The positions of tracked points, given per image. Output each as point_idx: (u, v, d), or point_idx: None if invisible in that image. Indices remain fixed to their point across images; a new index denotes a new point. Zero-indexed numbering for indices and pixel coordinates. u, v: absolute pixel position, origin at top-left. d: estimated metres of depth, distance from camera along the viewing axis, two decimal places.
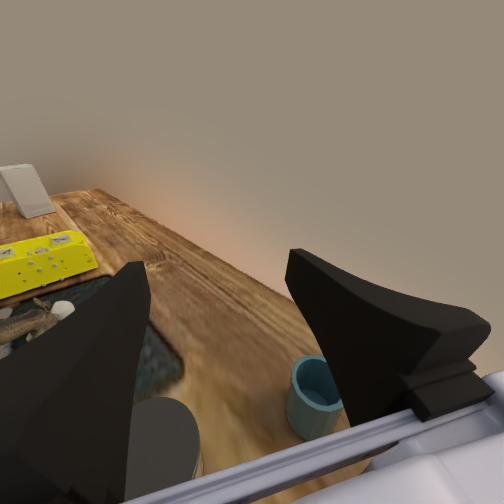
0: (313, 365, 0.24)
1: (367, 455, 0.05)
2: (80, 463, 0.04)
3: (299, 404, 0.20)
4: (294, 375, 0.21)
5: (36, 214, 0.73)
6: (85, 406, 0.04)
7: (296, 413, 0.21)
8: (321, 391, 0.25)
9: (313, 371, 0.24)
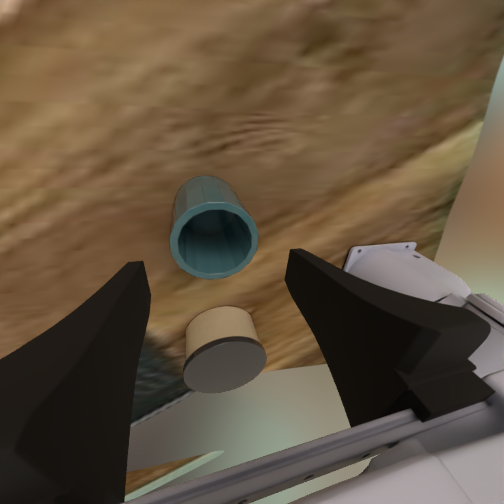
0: None
1: (367, 455, 0.05)
2: (80, 463, 0.04)
3: None
4: (201, 274, 0.14)
5: None
6: (85, 407, 0.04)
7: None
8: None
9: None
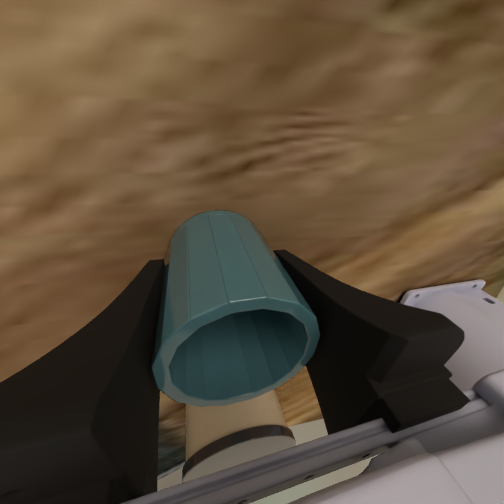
0: None
1: (367, 455, 0.05)
2: (129, 450, 0.04)
3: None
4: (213, 403, 0.08)
5: None
6: (130, 396, 0.05)
7: None
8: None
9: None
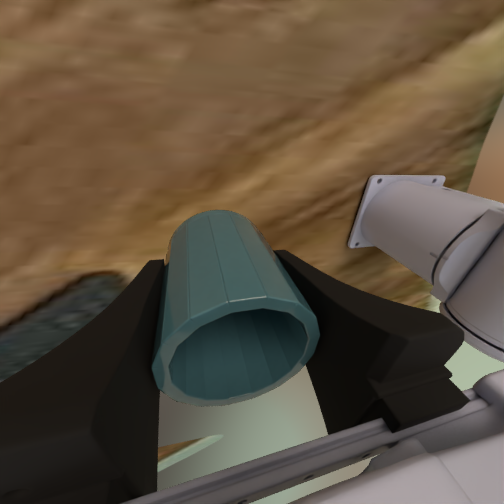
0: None
1: (367, 455, 0.05)
2: (129, 450, 0.04)
3: None
4: (212, 403, 0.08)
5: None
6: (130, 397, 0.05)
7: None
8: None
9: None
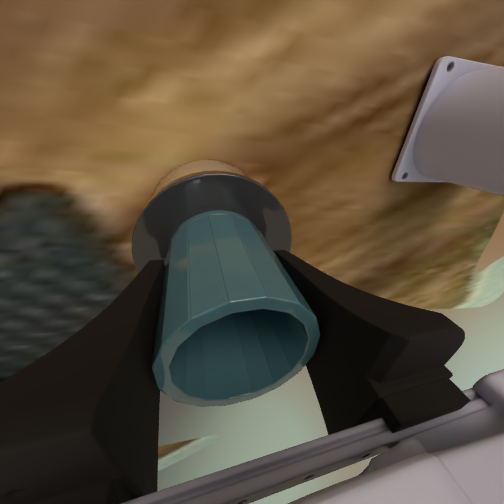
0: None
1: (367, 455, 0.05)
2: (129, 450, 0.04)
3: None
4: (213, 403, 0.08)
5: None
6: (130, 396, 0.05)
7: None
8: None
9: None
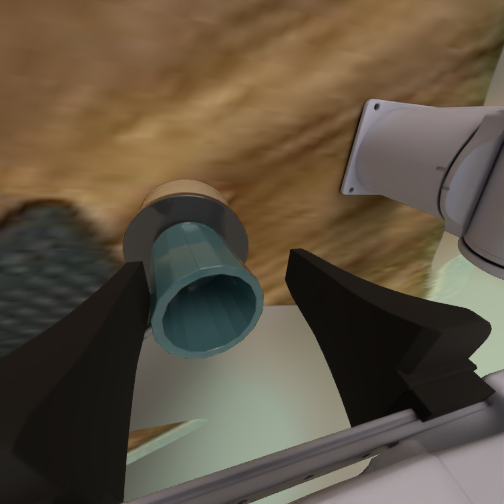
0: None
1: (367, 455, 0.05)
2: (78, 464, 0.04)
3: None
4: (194, 355, 0.11)
5: None
6: (84, 407, 0.04)
7: None
8: None
9: None
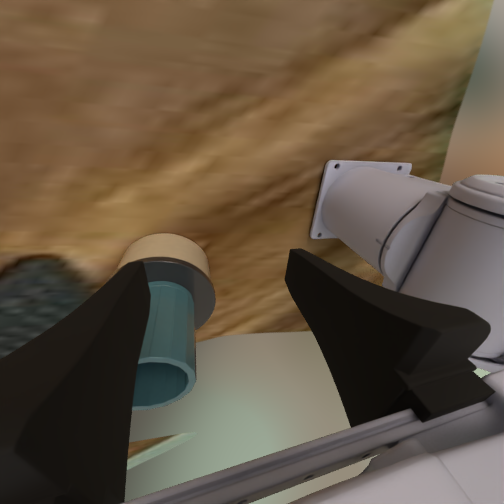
0: None
1: (367, 455, 0.05)
2: (80, 463, 0.04)
3: None
4: (137, 408, 0.14)
5: None
6: (85, 407, 0.04)
7: None
8: None
9: None
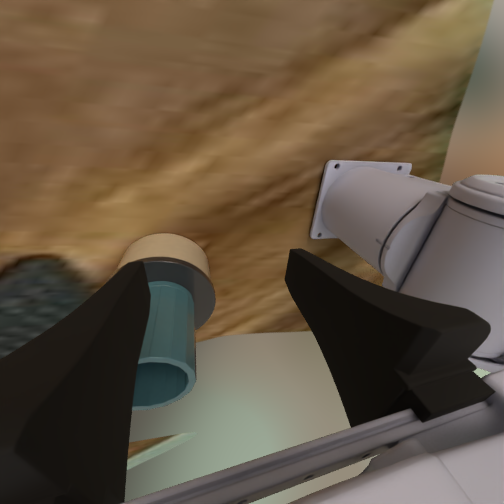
0: None
1: (367, 455, 0.05)
2: (80, 463, 0.04)
3: None
4: (137, 408, 0.14)
5: None
6: (85, 407, 0.04)
7: None
8: None
9: None
